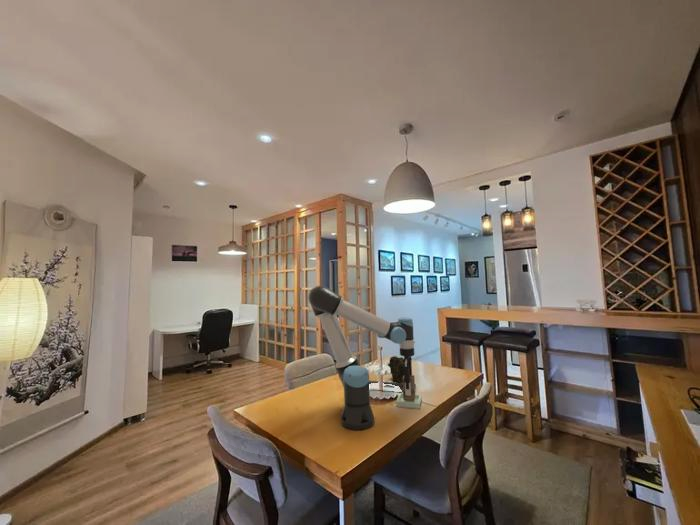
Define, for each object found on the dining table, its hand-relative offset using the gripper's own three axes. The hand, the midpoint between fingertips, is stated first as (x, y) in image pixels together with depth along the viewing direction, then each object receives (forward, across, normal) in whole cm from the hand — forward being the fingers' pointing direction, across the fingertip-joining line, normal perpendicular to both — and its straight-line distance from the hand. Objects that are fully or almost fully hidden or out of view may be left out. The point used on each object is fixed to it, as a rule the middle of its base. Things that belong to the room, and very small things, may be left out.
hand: (408, 392), depth 147 cm
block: (+3, 0, 0) cm, 3 cm away
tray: (+5, 0, 0) cm, 5 cm away
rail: (+5, +18, +14) cm, 23 cm away
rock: (+6, +34, +10) cm, 36 cm away
